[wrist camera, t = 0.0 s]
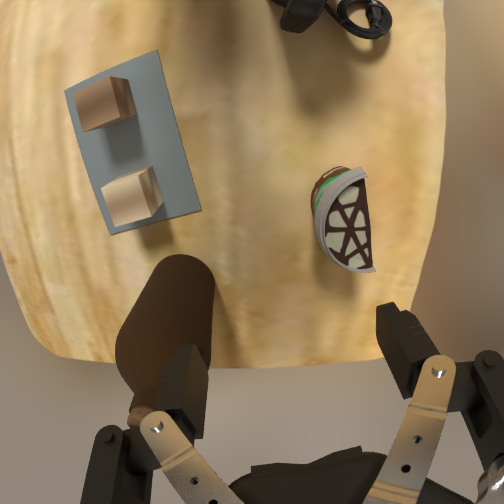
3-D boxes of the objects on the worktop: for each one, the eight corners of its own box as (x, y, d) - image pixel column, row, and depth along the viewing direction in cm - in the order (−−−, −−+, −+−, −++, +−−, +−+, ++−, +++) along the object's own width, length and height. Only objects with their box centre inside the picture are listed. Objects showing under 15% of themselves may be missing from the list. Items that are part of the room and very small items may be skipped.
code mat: (64, 90, 32) (64, 90, 32) (157, 50, 31) (157, 49, 31) (110, 234, 42) (110, 234, 42) (201, 209, 41) (201, 210, 41)
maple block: (118, 176, 38) (100, 188, 33) (152, 165, 38) (137, 175, 32) (130, 210, 40) (114, 227, 35) (163, 201, 40) (151, 216, 35)
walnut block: (94, 93, 33) (72, 93, 28) (128, 79, 33) (109, 76, 27) (103, 127, 35) (83, 132, 30) (137, 114, 35) (120, 116, 29)
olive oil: (169, 235, 42) (105, 372, 20) (233, 274, 45) (226, 426, 23) (137, 288, 46) (78, 423, 24) (196, 321, 49) (172, 463, 27)
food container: (293, 164, 39) (308, 182, 30) (339, 155, 38) (367, 170, 29) (310, 249, 44) (326, 288, 35) (351, 240, 43) (376, 275, 34)
